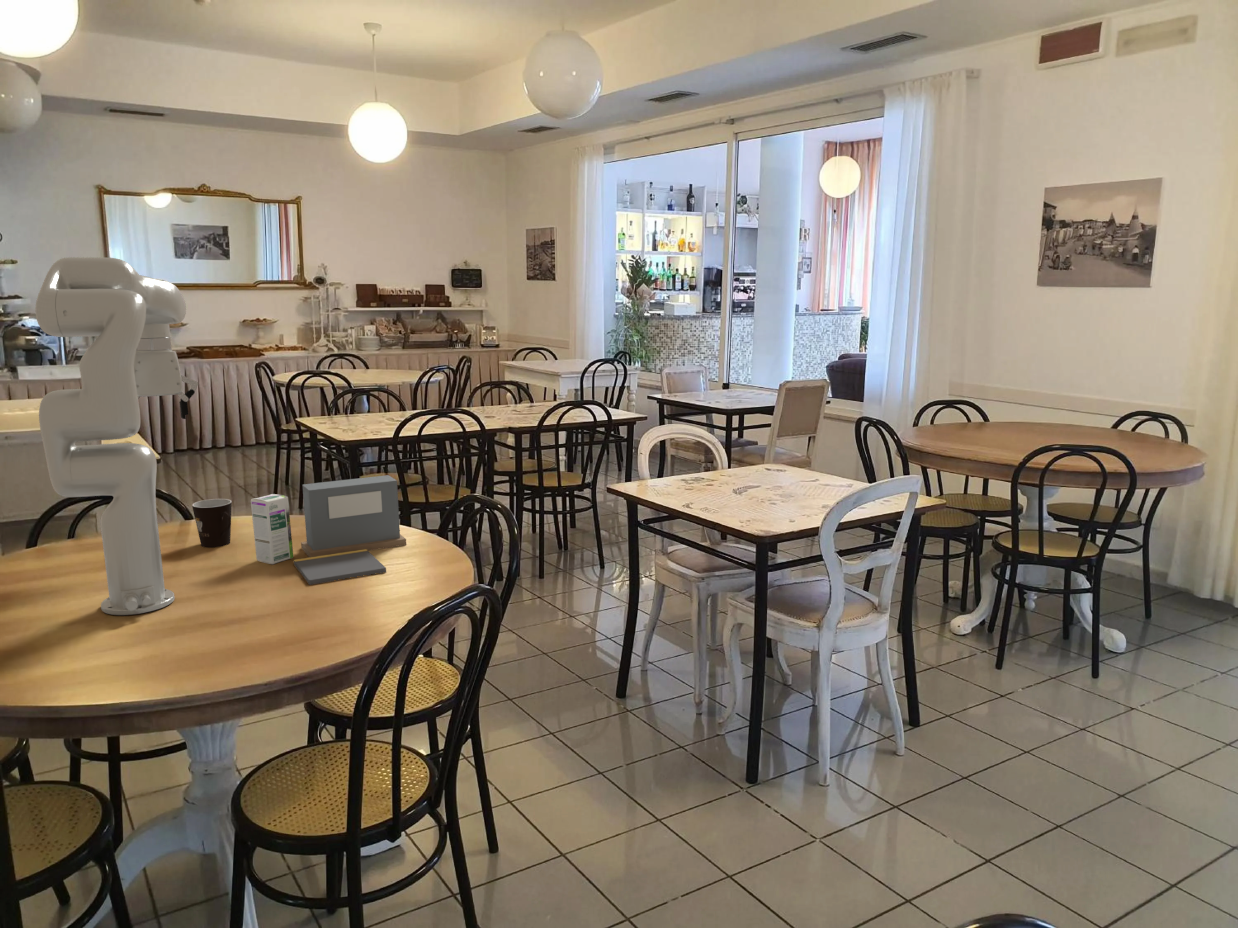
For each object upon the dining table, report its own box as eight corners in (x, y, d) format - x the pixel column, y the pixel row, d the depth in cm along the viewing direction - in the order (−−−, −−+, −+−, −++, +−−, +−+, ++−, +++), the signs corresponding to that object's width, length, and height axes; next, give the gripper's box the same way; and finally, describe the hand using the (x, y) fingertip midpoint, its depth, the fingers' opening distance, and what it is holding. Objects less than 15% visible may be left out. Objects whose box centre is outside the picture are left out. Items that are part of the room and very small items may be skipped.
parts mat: (386, 572, 194) (386, 567, 194) (309, 584, 186) (309, 579, 186) (366, 553, 207) (366, 548, 207) (293, 564, 199) (293, 559, 199)
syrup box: (272, 565, 199) (267, 501, 196) (255, 560, 202) (250, 497, 199) (293, 558, 204) (289, 495, 201) (276, 554, 207) (271, 492, 204)
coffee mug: (195, 541, 218) (191, 501, 216) (234, 537, 221) (231, 497, 219) (196, 554, 207) (191, 512, 205) (236, 549, 211) (232, 508, 209)
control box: (406, 544, 214) (403, 481, 211) (310, 559, 203) (305, 492, 200) (394, 534, 222) (390, 473, 219) (301, 548, 212) (296, 483, 208)
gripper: (110, 348, 198) (119, 425, 201) (196, 345, 207) (203, 419, 210) (108, 346, 204) (117, 421, 207) (192, 343, 213) (199, 415, 216)
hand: (160, 420), depth 208 cm, fingers open, 9 cm apart
